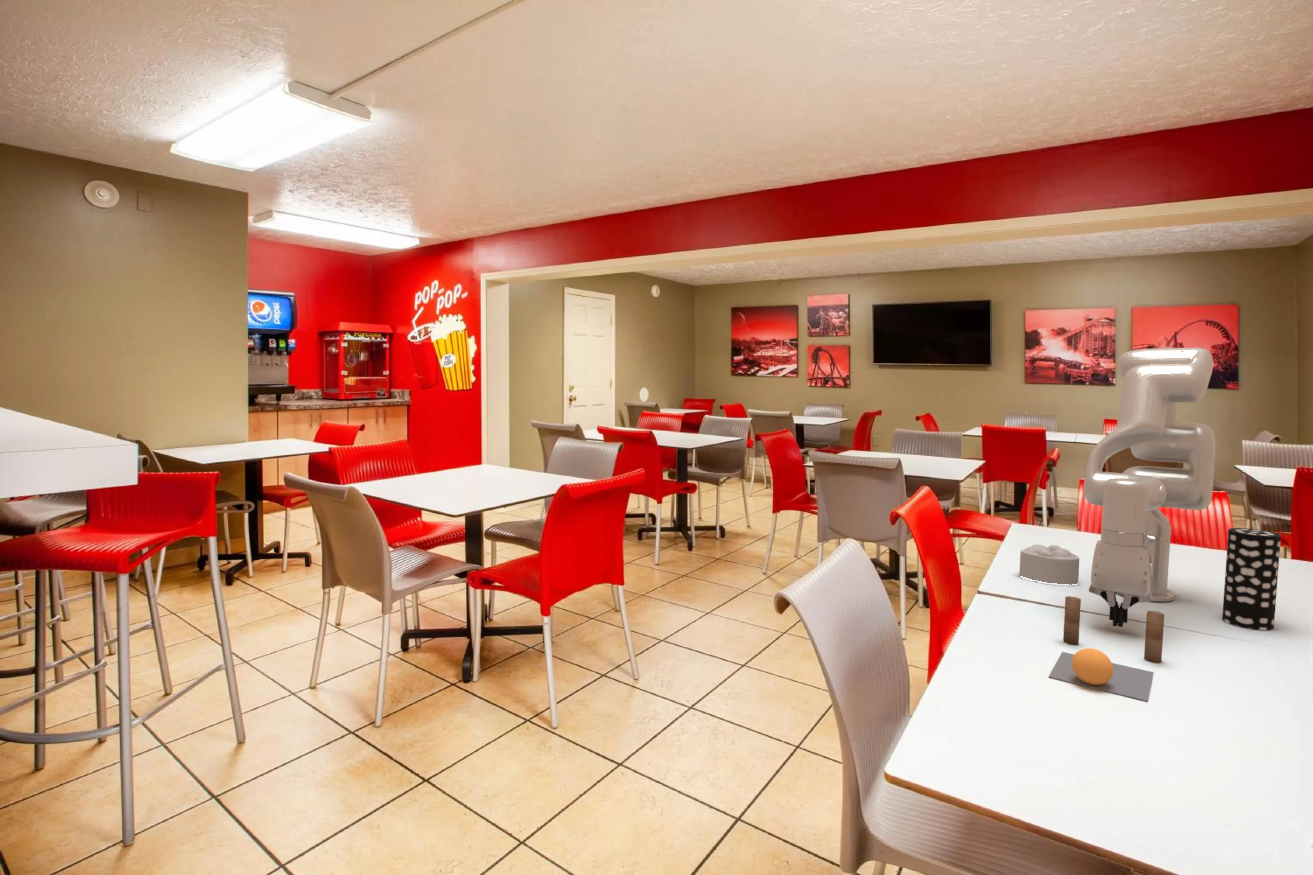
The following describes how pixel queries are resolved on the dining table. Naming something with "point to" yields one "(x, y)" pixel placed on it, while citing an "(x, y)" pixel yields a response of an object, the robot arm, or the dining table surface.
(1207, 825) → the dining table surface
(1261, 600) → the white-spotted black cylinder
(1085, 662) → the ball
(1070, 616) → the post
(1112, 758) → the dining table surface
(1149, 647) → the post
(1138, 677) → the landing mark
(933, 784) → the dining table surface
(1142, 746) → the dining table surface
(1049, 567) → the lumpy-topped squat cylinder
